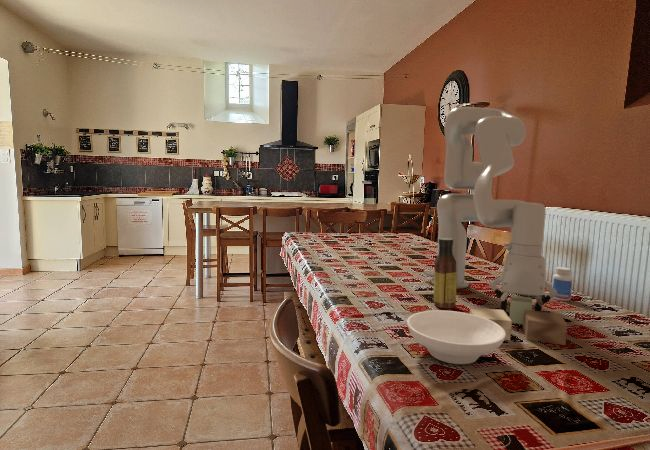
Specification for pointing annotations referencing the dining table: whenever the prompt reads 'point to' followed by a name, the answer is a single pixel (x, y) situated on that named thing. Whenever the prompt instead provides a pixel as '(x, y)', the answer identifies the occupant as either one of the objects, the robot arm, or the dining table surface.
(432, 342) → the bowl
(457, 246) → the robot arm
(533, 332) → the tan square block
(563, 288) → the pill bottle
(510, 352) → the dining table surface
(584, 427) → the dining table surface
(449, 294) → the sauce bottle
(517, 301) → the sage block
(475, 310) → the beech block
